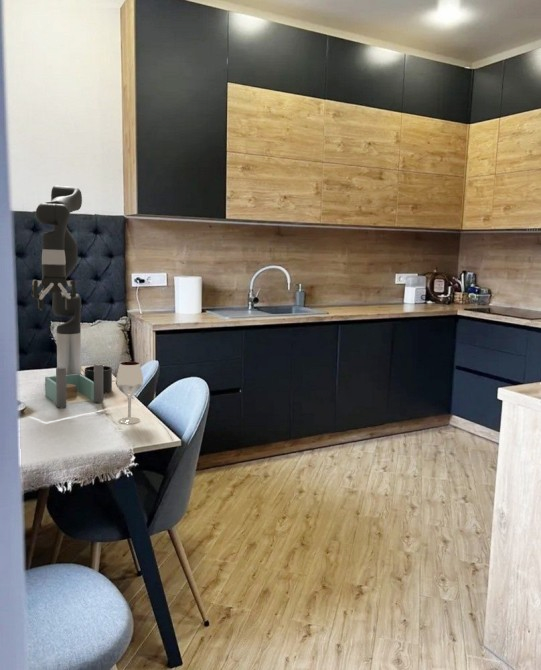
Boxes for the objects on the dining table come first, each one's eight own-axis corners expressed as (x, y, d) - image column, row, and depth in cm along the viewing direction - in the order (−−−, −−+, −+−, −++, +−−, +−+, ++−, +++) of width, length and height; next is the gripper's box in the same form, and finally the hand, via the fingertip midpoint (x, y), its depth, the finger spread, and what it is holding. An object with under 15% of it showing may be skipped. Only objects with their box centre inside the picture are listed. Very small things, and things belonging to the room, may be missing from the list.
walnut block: (59, 396, 192) (59, 385, 191) (70, 394, 195) (70, 383, 194) (66, 399, 189) (66, 387, 189) (76, 396, 192) (76, 385, 192)
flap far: (98, 403, 185) (97, 366, 183) (88, 401, 187) (88, 364, 185) (105, 402, 187) (105, 364, 185) (95, 399, 190) (95, 362, 188)
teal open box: (45, 396, 193) (45, 377, 192) (80, 392, 200) (79, 373, 199) (57, 406, 182) (57, 385, 181) (93, 401, 189) (93, 381, 188)
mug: (110, 387, 210) (110, 363, 209) (112, 395, 199) (112, 370, 198) (84, 388, 207) (83, 364, 206) (85, 396, 196) (84, 371, 194)
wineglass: (132, 415, 176) (132, 359, 173) (148, 421, 171) (149, 363, 168) (110, 420, 169) (110, 363, 167) (126, 426, 164) (126, 367, 162)
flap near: (64, 403, 183) (64, 365, 181) (67, 407, 179) (66, 368, 177) (55, 404, 182) (54, 366, 180) (57, 408, 177) (56, 369, 175)
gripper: (71, 263, 198) (71, 308, 200) (29, 262, 189) (30, 309, 191) (78, 264, 192) (78, 310, 194) (34, 263, 183) (35, 311, 186)
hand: (54, 309), depth 193 cm, fingers open, 8 cm apart
